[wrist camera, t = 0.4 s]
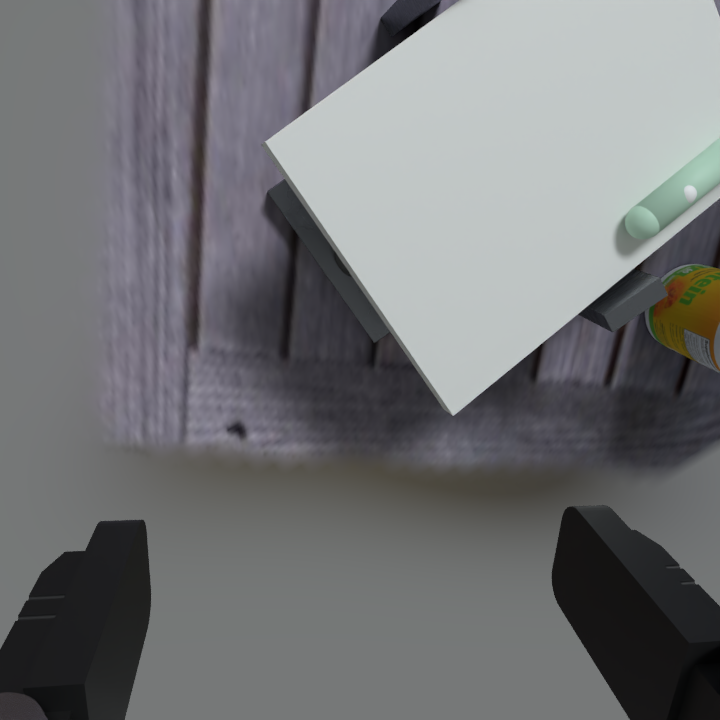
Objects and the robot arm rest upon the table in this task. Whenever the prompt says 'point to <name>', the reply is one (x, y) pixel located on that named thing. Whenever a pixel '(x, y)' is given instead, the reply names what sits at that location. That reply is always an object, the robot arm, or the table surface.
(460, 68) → the levelling plate
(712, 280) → the supplement bottle
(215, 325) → the table surface
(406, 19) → the base
